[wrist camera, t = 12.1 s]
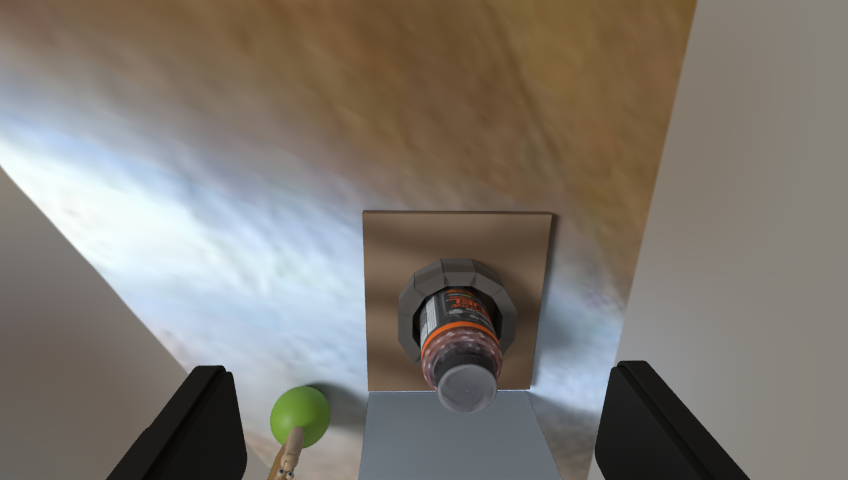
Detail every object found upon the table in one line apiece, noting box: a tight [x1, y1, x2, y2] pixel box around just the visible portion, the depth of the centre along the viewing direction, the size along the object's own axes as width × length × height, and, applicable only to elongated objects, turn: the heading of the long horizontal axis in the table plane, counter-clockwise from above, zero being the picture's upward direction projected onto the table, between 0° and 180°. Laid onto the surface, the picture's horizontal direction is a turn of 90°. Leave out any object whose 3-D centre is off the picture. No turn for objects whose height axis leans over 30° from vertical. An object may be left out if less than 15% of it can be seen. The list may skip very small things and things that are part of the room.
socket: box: [362, 210, 552, 391], centre depth 36 cm, size 18×16×4 cm
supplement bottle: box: [420, 286, 503, 414], centre depth 32 cm, size 6×6×11 cm
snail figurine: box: [268, 386, 330, 480], centre depth 35 cm, size 5×6×12 cm
